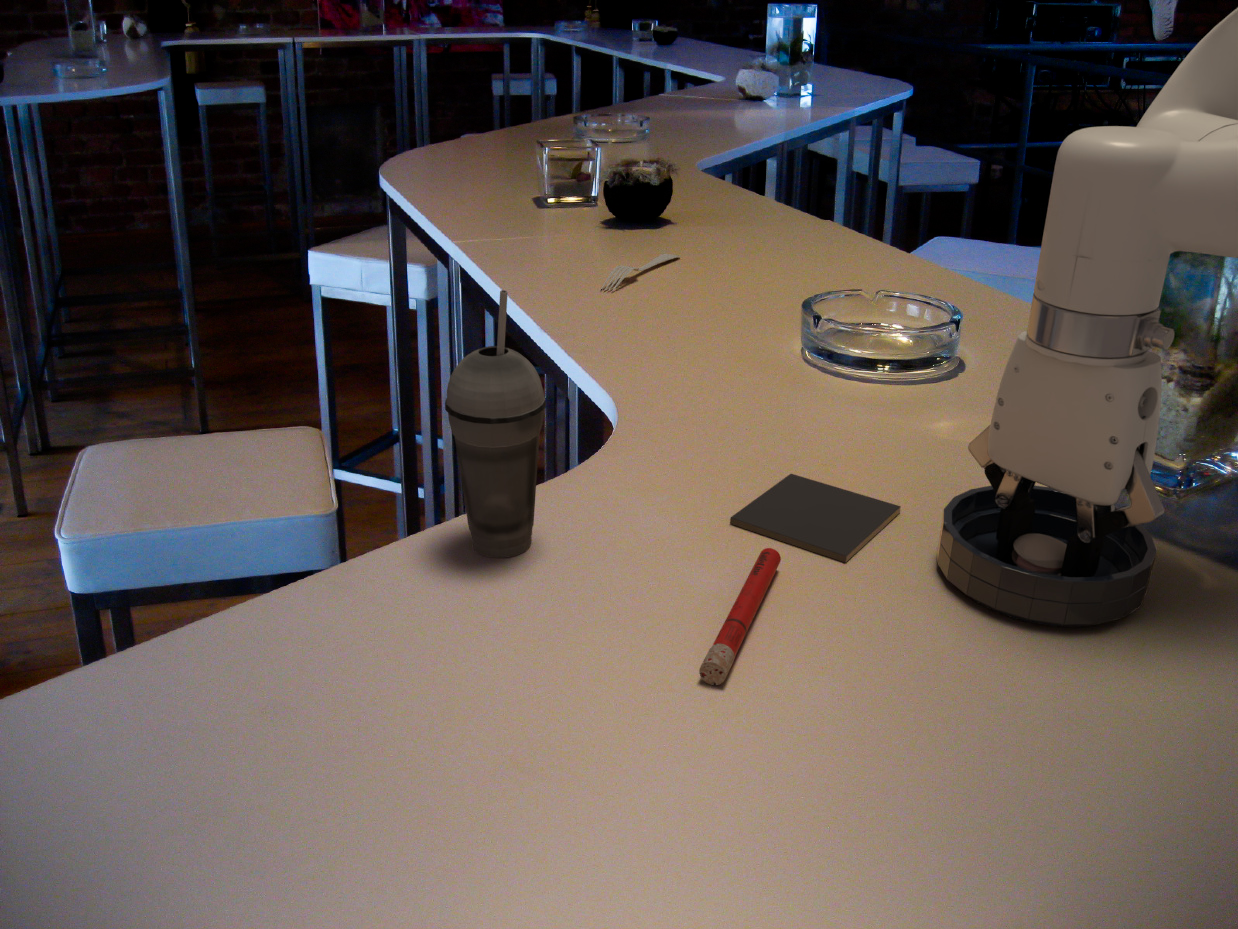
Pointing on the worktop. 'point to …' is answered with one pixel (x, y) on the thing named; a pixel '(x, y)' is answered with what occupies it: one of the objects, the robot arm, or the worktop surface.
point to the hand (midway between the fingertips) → (1042, 565)
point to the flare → (739, 618)
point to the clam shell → (1039, 553)
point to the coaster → (816, 517)
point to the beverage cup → (497, 442)
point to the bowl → (1042, 595)
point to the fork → (654, 262)
